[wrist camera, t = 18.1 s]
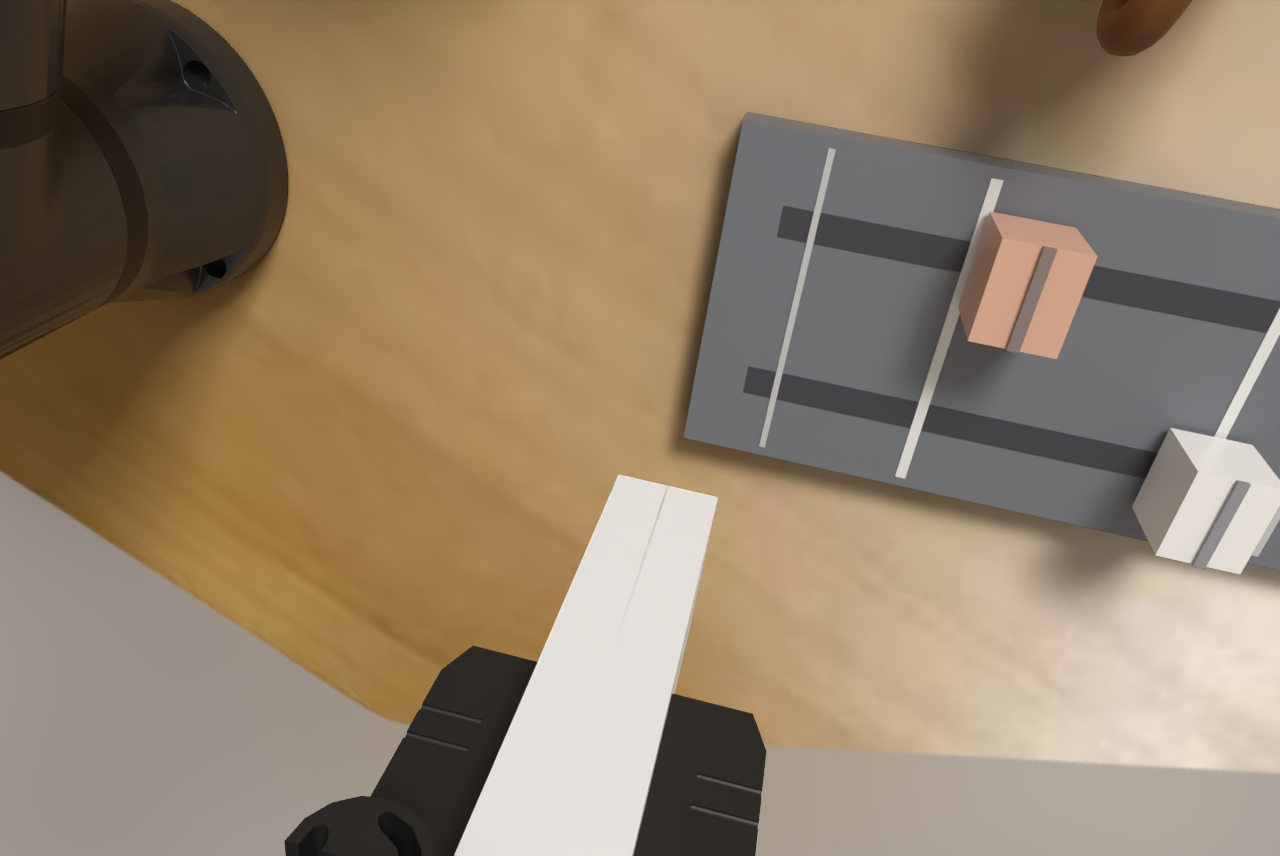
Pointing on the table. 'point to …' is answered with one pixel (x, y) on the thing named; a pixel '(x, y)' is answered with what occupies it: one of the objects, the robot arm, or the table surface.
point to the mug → (1136, 23)
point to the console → (936, 340)
